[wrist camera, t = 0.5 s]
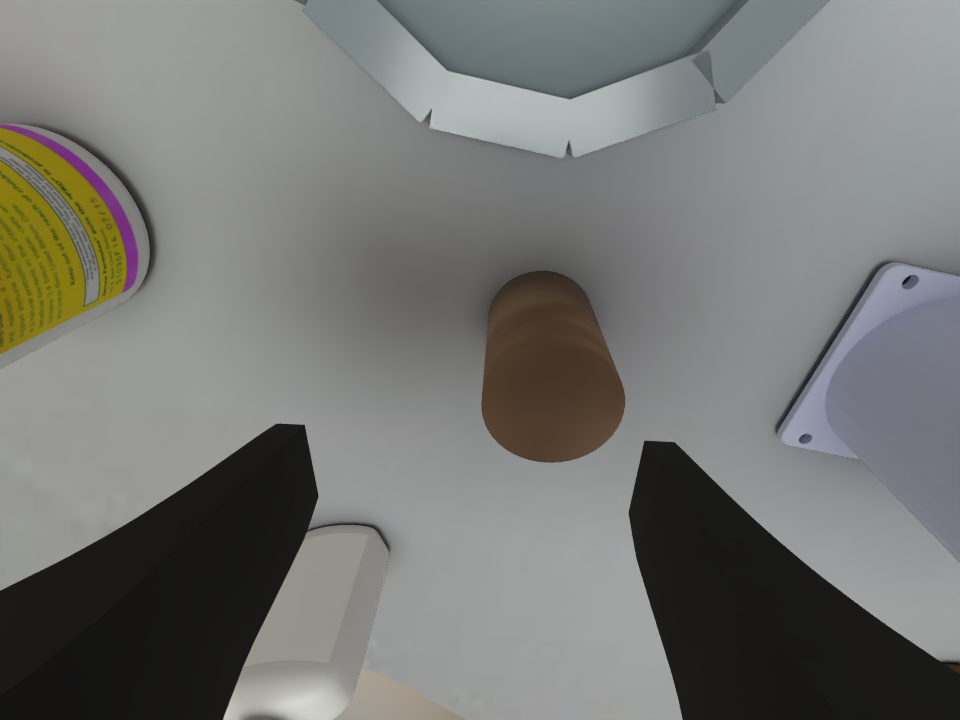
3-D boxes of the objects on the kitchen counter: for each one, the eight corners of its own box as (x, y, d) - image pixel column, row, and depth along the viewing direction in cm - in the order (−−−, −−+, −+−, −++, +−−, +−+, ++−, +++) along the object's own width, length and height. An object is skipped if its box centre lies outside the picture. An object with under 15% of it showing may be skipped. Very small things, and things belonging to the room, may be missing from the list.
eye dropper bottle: (285, 508, 25) (118, 819, 14) (395, 527, 25) (312, 846, 14) (285, 565, 27) (140, 872, 16) (386, 582, 27) (309, 895, 16)
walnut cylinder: (605, 283, 18) (646, 360, 13) (574, 373, 20) (598, 473, 15) (501, 260, 18) (498, 329, 13) (479, 354, 20) (469, 448, 15)
